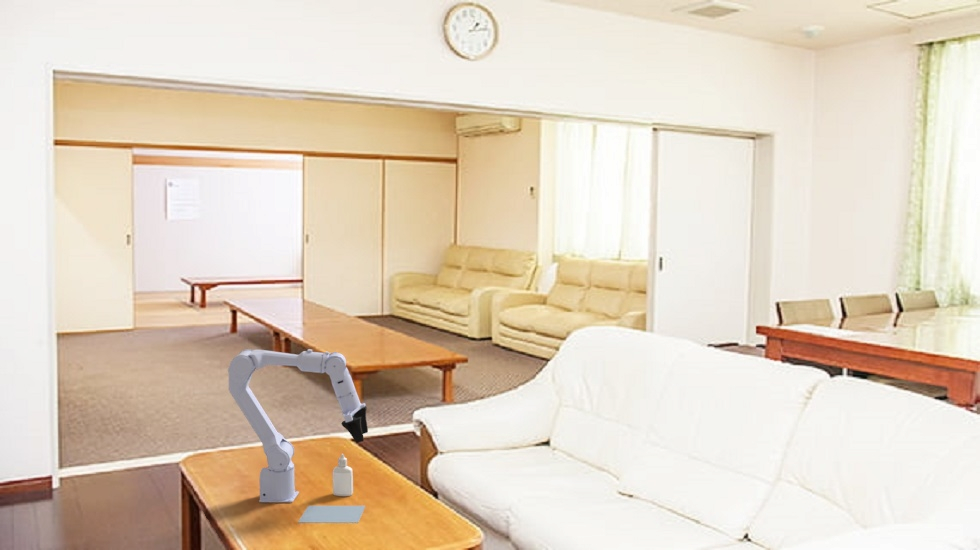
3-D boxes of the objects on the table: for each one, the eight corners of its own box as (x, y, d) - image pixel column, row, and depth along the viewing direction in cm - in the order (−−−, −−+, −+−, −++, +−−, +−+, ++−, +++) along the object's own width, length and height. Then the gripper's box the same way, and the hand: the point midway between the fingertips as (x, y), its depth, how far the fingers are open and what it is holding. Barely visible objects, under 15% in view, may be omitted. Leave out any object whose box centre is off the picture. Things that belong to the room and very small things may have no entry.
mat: (297, 522, 215) (297, 522, 215) (308, 505, 227) (308, 505, 227) (358, 522, 215) (358, 522, 215) (365, 506, 227) (365, 505, 227)
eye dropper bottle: (344, 498, 233) (343, 457, 231) (330, 494, 236) (330, 454, 235) (355, 494, 236) (354, 454, 235) (342, 490, 239) (341, 450, 238)
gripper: (355, 396, 225) (371, 441, 226) (363, 382, 239) (379, 425, 241) (331, 404, 225) (347, 449, 227) (341, 390, 240) (356, 432, 241)
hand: (362, 437), depth 234 cm, fingers open, 7 cm apart
